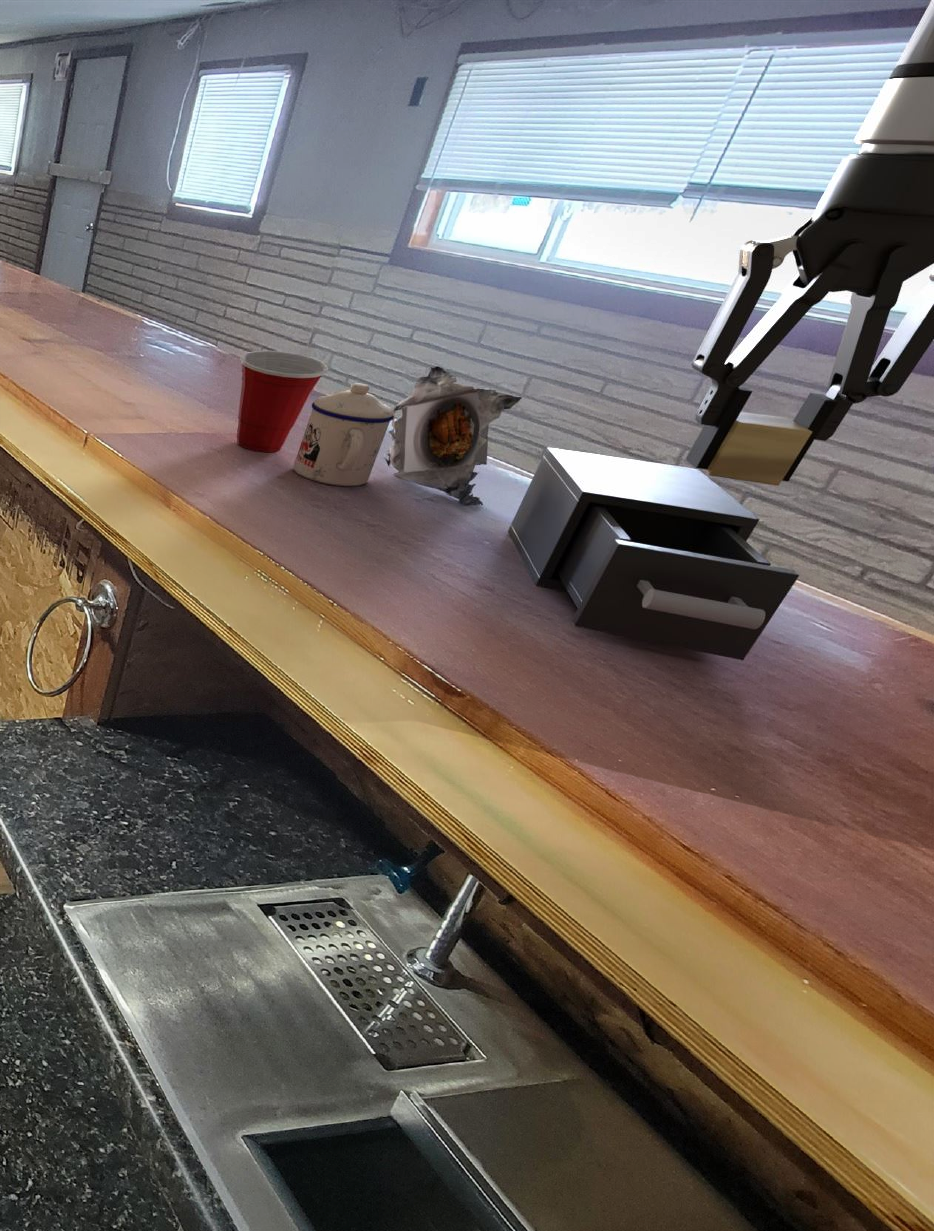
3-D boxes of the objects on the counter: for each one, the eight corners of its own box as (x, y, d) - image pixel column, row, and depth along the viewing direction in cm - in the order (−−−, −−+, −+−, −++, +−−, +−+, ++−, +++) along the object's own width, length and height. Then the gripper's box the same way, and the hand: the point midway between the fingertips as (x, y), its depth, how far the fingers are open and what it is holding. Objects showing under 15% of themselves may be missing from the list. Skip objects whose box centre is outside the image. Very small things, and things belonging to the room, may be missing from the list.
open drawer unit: (764, 685, 71) (825, 596, 67) (586, 647, 75) (633, 562, 71) (684, 592, 86) (731, 515, 82) (540, 565, 90) (577, 491, 86)
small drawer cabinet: (699, 617, 83) (760, 519, 79) (535, 585, 88) (583, 491, 83) (648, 556, 96) (698, 468, 91) (507, 531, 101) (547, 447, 96)
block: (779, 486, 72) (813, 431, 70) (708, 475, 74) (739, 422, 72) (756, 470, 76) (788, 417, 73) (690, 460, 77) (719, 408, 75)
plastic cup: (216, 451, 123) (241, 361, 117) (217, 430, 131) (240, 346, 125) (303, 463, 119) (334, 372, 113) (298, 442, 128) (326, 356, 122)
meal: (487, 505, 108) (536, 396, 101) (456, 505, 107) (503, 396, 101) (399, 464, 121) (437, 365, 114) (371, 464, 120) (407, 365, 114)
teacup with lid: (286, 460, 120) (314, 372, 114) (360, 469, 118) (393, 380, 112) (299, 489, 110) (331, 394, 105) (381, 500, 108) (418, 404, 102)
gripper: (1063, 159, 63) (852, 477, 74) (743, 145, 69) (595, 440, 81) (1142, 160, 57) (899, 505, 68) (784, 145, 63) (618, 463, 75)
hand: (735, 469), depth 75 cm, fingers closed on block, 4 cm apart
